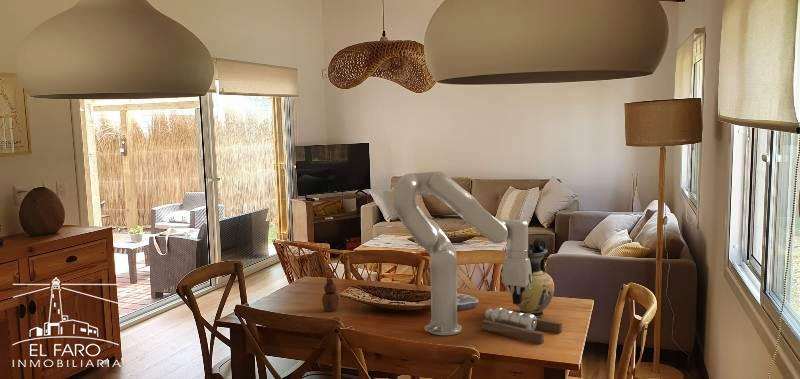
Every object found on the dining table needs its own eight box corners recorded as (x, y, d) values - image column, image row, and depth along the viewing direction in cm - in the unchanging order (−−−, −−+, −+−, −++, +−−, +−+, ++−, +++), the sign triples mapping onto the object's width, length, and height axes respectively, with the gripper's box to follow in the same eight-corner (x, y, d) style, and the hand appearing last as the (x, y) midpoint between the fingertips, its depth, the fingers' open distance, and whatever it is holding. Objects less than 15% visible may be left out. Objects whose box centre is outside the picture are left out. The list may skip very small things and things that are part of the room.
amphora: (543, 324, 242) (543, 245, 239) (502, 316, 252) (502, 241, 249) (560, 312, 257) (561, 237, 253) (521, 305, 266) (521, 234, 263)
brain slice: (472, 299, 278) (472, 292, 278) (481, 310, 262) (481, 303, 261) (427, 301, 276) (427, 294, 276) (434, 313, 259) (434, 306, 259)
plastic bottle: (533, 312, 229) (486, 301, 242) (528, 330, 227) (480, 318, 240) (541, 318, 234) (494, 307, 247) (535, 336, 232) (488, 324, 245)
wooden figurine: (327, 313, 261) (326, 277, 259) (320, 310, 265) (318, 275, 264) (341, 310, 265) (340, 274, 263) (334, 307, 270) (332, 272, 268)
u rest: (541, 344, 221) (541, 334, 221) (482, 330, 237) (482, 321, 236) (562, 332, 233) (562, 322, 232) (504, 319, 248) (504, 310, 248)
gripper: (494, 253, 235) (494, 302, 237) (530, 258, 225) (530, 309, 227) (504, 249, 240) (504, 298, 242) (541, 254, 231) (540, 304, 233)
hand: (517, 303), depth 235 cm, fingers closed
